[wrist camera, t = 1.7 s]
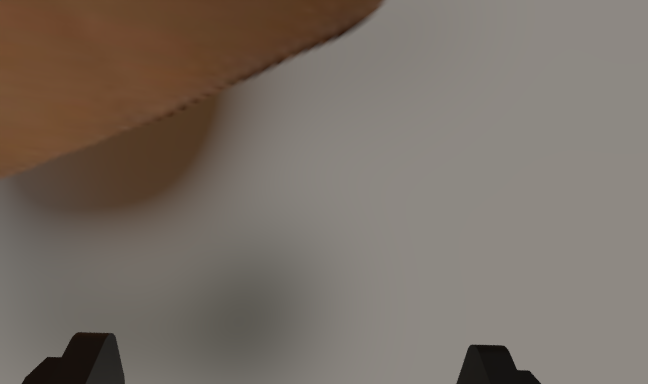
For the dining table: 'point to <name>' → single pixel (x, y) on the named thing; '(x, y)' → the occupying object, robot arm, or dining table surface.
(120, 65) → the dining table surface
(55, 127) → the dining table surface
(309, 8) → the dining table surface
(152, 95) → the dining table surface
